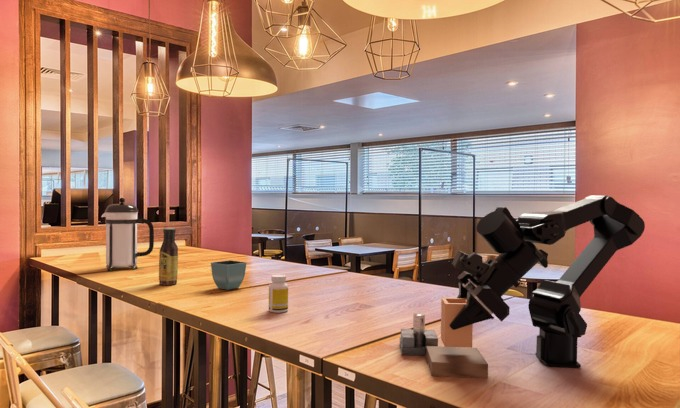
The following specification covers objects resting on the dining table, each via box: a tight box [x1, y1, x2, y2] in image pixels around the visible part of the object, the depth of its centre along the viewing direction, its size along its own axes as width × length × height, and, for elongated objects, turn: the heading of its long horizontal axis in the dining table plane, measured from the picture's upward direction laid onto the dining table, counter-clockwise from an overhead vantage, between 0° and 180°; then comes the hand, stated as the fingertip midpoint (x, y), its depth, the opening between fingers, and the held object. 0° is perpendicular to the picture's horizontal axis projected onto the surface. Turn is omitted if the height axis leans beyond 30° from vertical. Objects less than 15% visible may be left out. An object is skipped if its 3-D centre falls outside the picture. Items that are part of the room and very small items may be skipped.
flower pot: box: [210, 259, 247, 291], centre depth 160 cm, size 9×9×9 cm
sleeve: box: [440, 297, 474, 348], centre depth 89 cm, size 5×5×8 cm
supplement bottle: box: [268, 274, 289, 314], centre depth 130 cm, size 5×5×10 cm
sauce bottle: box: [158, 227, 179, 286], centre depth 165 cm, size 7×6×20 cm
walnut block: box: [425, 345, 489, 379], centre depth 89 cm, size 10×9×2 cm
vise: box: [399, 312, 439, 357], centre depth 99 cm, size 8×7×8 cm
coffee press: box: [101, 197, 155, 272], centre depth 198 cm, size 17×16×30 cm
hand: (448, 323), depth 89 cm, fingers closed on sleeve, 5 cm apart
